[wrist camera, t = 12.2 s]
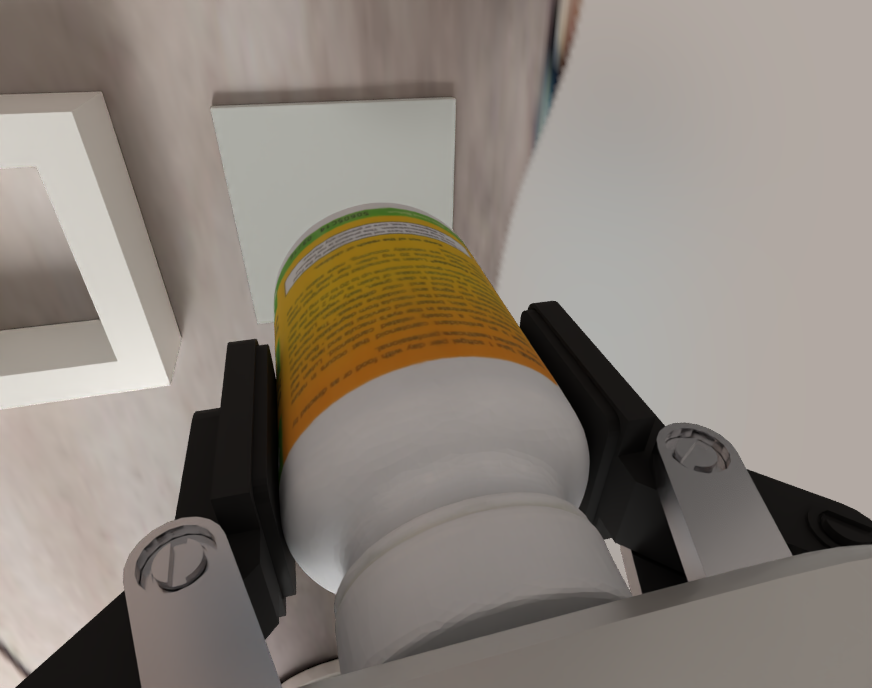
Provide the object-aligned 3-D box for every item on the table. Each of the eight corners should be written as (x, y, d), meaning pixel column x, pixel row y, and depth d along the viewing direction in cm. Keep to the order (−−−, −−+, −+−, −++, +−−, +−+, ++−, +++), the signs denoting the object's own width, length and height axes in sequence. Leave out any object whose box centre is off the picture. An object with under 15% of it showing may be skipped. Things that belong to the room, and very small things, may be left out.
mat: (453, 96, 18) (456, 99, 18) (447, 296, 23) (450, 300, 23) (211, 105, 17) (210, 108, 16) (257, 319, 21) (257, 324, 21)
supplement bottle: (227, 264, 13) (170, 723, 5) (422, 155, 12) (666, 480, 5) (341, 397, 16) (406, 791, 9) (497, 315, 16) (707, 651, 8)
